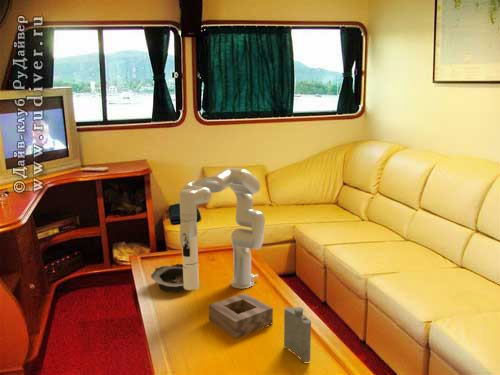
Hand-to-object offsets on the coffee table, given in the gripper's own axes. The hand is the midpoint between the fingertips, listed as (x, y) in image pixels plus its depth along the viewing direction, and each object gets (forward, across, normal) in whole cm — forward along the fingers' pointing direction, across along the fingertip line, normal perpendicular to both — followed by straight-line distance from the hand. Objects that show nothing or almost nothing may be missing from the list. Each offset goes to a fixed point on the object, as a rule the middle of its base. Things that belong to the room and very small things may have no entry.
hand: (190, 253), depth 232 cm
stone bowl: (+32, -28, -22) cm, 48 cm away
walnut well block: (+31, 0, +24) cm, 40 cm away
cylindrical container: (+17, 0, 0) cm, 17 cm away
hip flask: (+31, +20, +55) cm, 66 cm away
